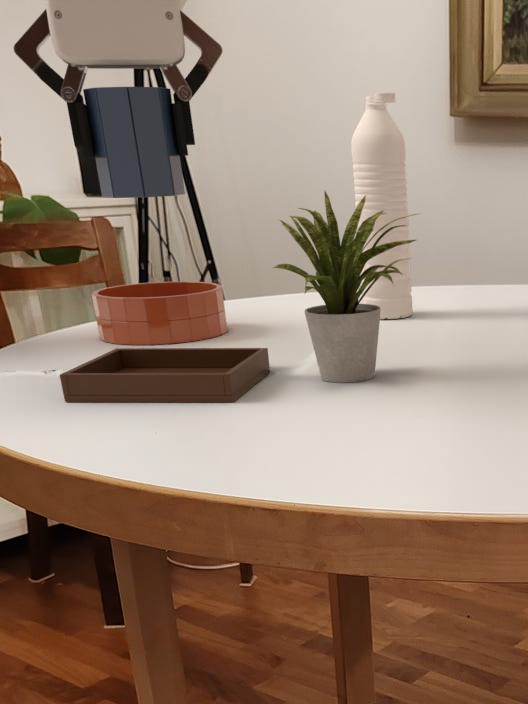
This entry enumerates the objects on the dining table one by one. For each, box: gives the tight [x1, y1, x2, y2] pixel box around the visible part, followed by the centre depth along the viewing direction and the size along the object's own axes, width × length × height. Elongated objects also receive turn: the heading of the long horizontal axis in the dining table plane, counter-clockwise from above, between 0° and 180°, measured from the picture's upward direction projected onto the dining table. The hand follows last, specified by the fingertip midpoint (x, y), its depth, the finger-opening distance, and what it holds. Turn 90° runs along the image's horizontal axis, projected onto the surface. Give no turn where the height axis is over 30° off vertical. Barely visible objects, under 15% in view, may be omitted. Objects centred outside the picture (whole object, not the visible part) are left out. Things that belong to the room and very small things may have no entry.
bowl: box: [91, 280, 228, 346], centre depth 113 cm, size 14×14×6 cm
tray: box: [59, 347, 271, 403], centre depth 91 cm, size 15×12×2 cm
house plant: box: [272, 190, 422, 383], centre depth 89 cm, size 14×14×16 cm
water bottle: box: [350, 92, 414, 320], centre depth 120 cm, size 9×6×25 cm
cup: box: [82, 86, 186, 199], centre depth 82 cm, size 6×6×8 cm
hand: (137, 154), depth 83 cm, fingers closed on cup, 6 cm apart
